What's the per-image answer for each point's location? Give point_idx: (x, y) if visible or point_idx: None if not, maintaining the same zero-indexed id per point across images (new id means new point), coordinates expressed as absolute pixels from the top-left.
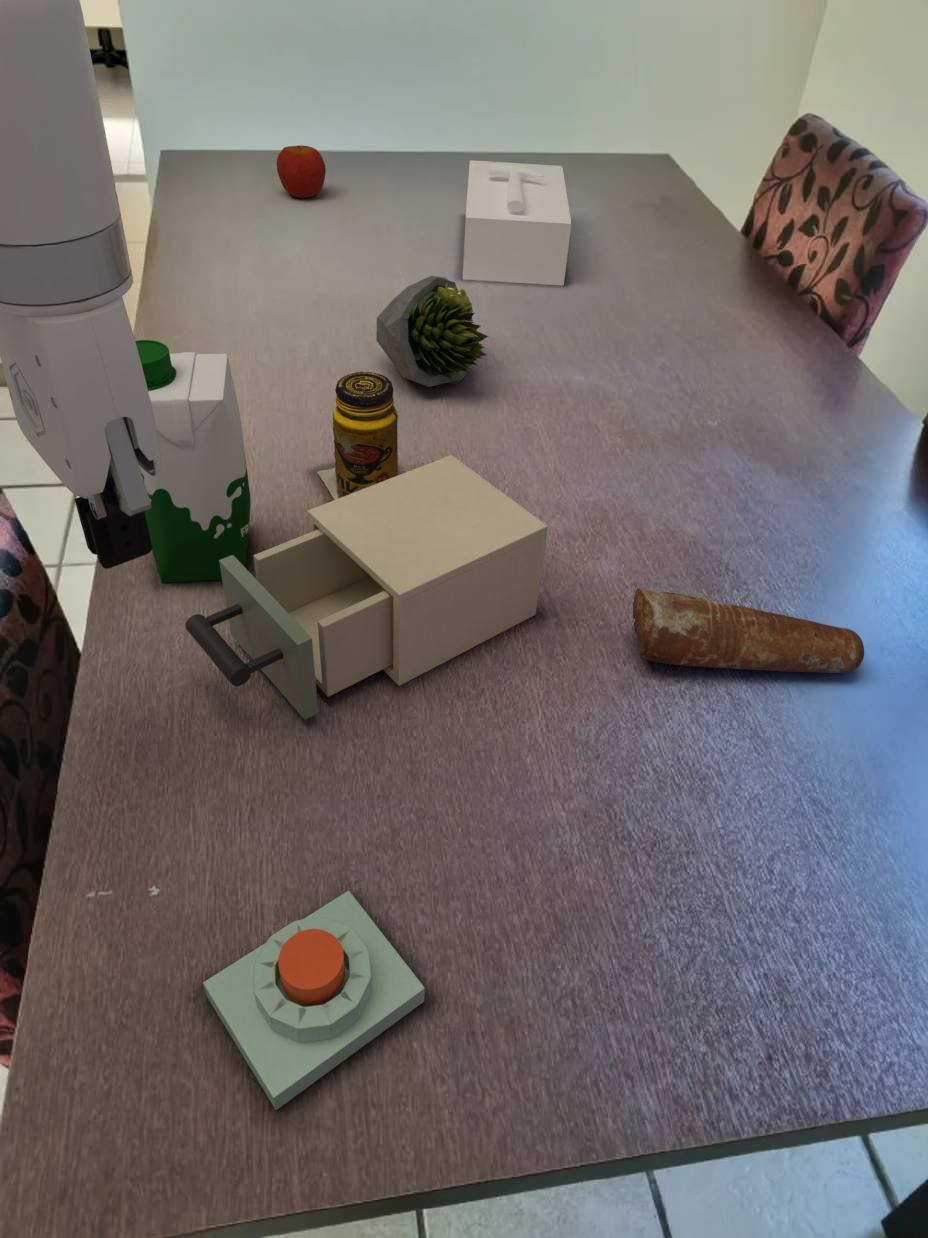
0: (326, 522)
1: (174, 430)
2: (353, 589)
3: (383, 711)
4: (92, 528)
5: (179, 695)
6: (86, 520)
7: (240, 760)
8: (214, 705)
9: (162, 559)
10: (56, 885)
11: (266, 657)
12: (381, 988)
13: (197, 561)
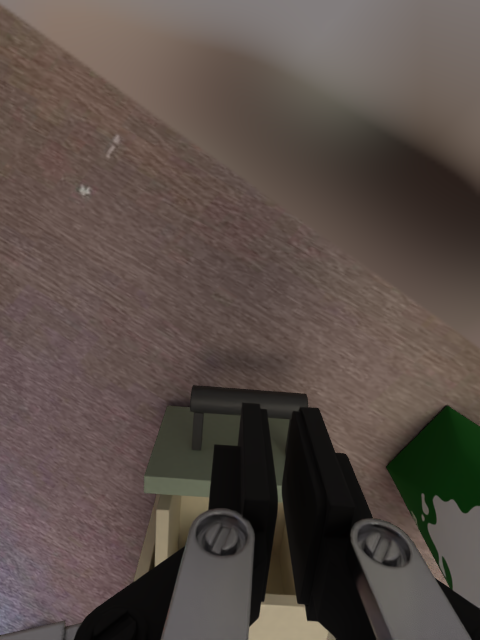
0: (296, 611)
1: None
2: (275, 534)
3: (142, 458)
4: (245, 470)
5: (288, 335)
6: (307, 470)
7: (173, 334)
8: (252, 353)
9: (458, 428)
10: (147, 116)
11: (196, 434)
12: None
13: (426, 453)
